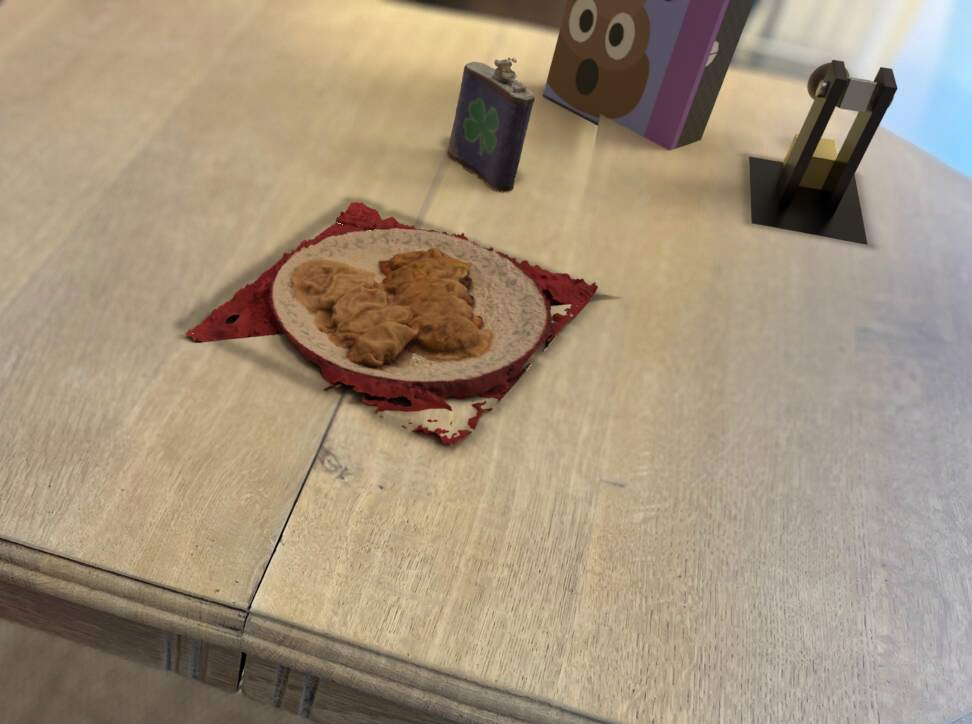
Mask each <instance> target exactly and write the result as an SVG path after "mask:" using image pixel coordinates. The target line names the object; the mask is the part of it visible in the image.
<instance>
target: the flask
mask: <svg viewBox="0 0 972 724" xmlns="http://www.w3.org/2000/svg"><path fill="white" fill-rule="evenodd" d="M517 62H518V60H517V58H513V57H512V58H511V57H508V58H507V59H506V58H503V59H500V60H499V59H495V60H494V66H495V67H496V68H495V67H492V66H490V65H488V64H486V63H483V62H478V61H471V62H468V63H466V64H465V65H464V66H463V72H462V77H461V79H462V80H461V84H460V89H459V94H458V99H457V105H456V109H455V114H454V120H453V124H452V128H451V132H450V137H449V140H448V145H447V149H446V152H447V153H446V154H447V155H448V157H449V158H450V160H451V161H452V162H454V163H458V165H460V166H461V167H462V168H463V169H464V170H465V171H466V172H468V173H469V174H472V175H476V176H477V179H479V180H482V181H483V182H484V184H485V185H487V186H488V187H489V188H491V190H493V191H498V192H501V193H504V194H505V193H508V192H511V191H513V190H514V187H515V182H516V177H517V174H518V168H519V165H520V161H521V157H522V153H523V148H524V143H525V140H526V135H527V131H528V126H529V123H530V119H531V114H532V111H533V107H534V103H535V100H536V99H535V97H536V96H535V94H534V93H533V91H531V90H530V89H528V88H527V85H526V84H525V83H523V82H522V81H518V79H517V77H518V75H517V73H516V71H514V70H512V69H511V67H512V66H513V63H515V64H516V63H517ZM516 79H517V80H516Z"/></svg>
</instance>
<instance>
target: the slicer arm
mask: <svg viewBox="0 0 972 724" xmlns="http://www.w3.org/2000/svg"><path fill="white" fill-rule="evenodd" d="M830 64H831V62H826V63H823V64H821V65H820V66H818V67H817V68H815V69H814V70H813V72H812V73H811V74H810V76H809V77H808V79H807V83H806V84H807V85H806V89H807V93H808V95H809V97H810V98H811V99H812V100H813V101H814V100H815V97H816V96H815V95H816V91H817V88H818V85H819V83H820V82H821V81H822V80H824V77H825V75H826V73H827V71H828V69H829V66H830ZM845 69H846V74H847V79H848V81H847V84H846V86H845V88H844V90H843V92H842V94H841V96H840V99H839V101H838V103H837V105H836V107H835V108H838V109H841V110H847V111H853V112H866V109H867V107H868V105H869V102H870V100H871V97H872V95H873V92H874V90H875V88H876V85H877V83H876V82H873V81H874V80H871V79H863V78H858V77H851V76H850V72H849V70H848V69H847V67H845Z"/></svg>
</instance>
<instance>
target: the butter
mask: <svg viewBox="0 0 972 724" xmlns="http://www.w3.org/2000/svg"><path fill="white" fill-rule="evenodd" d="M798 135H799V133H795V134H794V137H793V139H792V142H791V143H790V146H789V148H788V151H787V153H786V155H785V157H784V159H783V161H782V162H783V168H784V166H785V164H786V162H787V160H788V157H789V155H790V153H791V151H792V149H793V146H794V144H795V142H796V140H797V137H798ZM837 155H838V152H837V147H836V140H835V139H829V138H824V137H821V139H820V141H819V144H818V146H817V148H816V150H815V152H814V154H813V156H812V159H811V161H810V163H809V165H808V167H807V169H806V171H805V174H804V176H803V178H802V180H801V182H800V184H799V186H801V187H807V188H813V189H818V190H821V188H822V186H823V184H824V182H825V180H826V178H827V176H828V174H829V172H830V170H831V168H832V166H833V164H834V162H835V160H836V158H837Z"/></svg>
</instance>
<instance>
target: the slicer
mask: <svg viewBox="0 0 972 724" xmlns="http://www.w3.org/2000/svg"><path fill="white" fill-rule="evenodd" d="M830 63H831V64H830V66H829V69H828V71H827V73H826V75H825V77H824V80H822V81H821V82H820V83H819V85H818V88H817V91H816V95H815V96H816V97H815V100H813V102H812V105H810V109H809V111H808V113H807V116H806V117H805V120H804V122H803V125H802V127H801V129H800V131H799V133H798V134H799V135H798V137H797V140H796V142H795V144H794V146H793V149H792V151H791V153H790V155H789V157H788V160H787V162H786V164H785V166H784V168H783V162H784V161H779V160H772V159H767V158H761V157H755V156H748V162H749V190H750V192H749V193H750V217H751V219H750V220H751V224H753V225H758V226H764V227H768V228H769V227H770V228H775V229H781V230H784V231H785V230H786V231H790V232H797V233H802V234H807V235H811V236H812V235H813V236H818V237H823V238H828V239H835V240H839V241H840V240H841V241H844V242H845V241H846V242H851V243H855V244H862V245H867V246H868V239H867V234H866V229H865V224H864V217H863V214H862V213H863V212H862V207H861V201H860V196H859V190H858V184H857V179H856V175H855V174H856V172H857V170H858V169H859V166H860V164H861V163H862V161H863V158H864V156H865V154H866V152H867V150H868V148H869V146H870V144H871V142H872V141H873V138H874V136H875V134H876V133H877V130H878V128H879V127H880V124H881V122H882V120H883V118H884V116H885V115H886V112H887V111H888V109H889V108H890V106H891V105H892V103H893V101H894V98H895V95H896V93H897V91H898V84H897V81H896V77H895V74H894V69H893V68H889V67H883V66H880V67H879V68H878V71H877V73H876V75H875V77H874V79H873V80H872V81H873V82H876V83H877V85H876V88H875V90H874V92H873V95H872V97H871V100H870V102H869V105H868V107H867V109H866V112H859V111H857V115H856V116H855V119H854V120H853V122H852V125H851V127H850V129H849V131H848V133H847V135H846V136H845V139H844V141H843V143H842V145H841V147H840V149H839V151H838V152H837V158H836V160H835V162H834V164H833V166H832V168H831V170H830V172H829V174H828V176H827V178H826V180H825V182H824V184H823V186H822V188H821V190H818V189H813V188H807V187H801V186H799V184H800V182H801V180H802V178H803V176H804V174H805V171H806V169H807V167H808V165H809V163H810V161H811V159H812V156H813V154H814V152H815V150H816V148H817V146H818V144H819V141H820V139H821V138H823V135H824V133H825V131H826V129H827V126H828V124H829V122H830V120H831V118H832V115H833V114H834V111H835V109H836V108H837V107H836V105H837V103H838V101H839V99H840V96H841V94H842V92H843V90H844V88H845V86H846V84H847V81H848V79H847V74H846V69H847V68H846V64H845V61H844V60H839V59H837V60H836V59H832V60H831V62H830ZM845 68H846V69H845Z"/></svg>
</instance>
